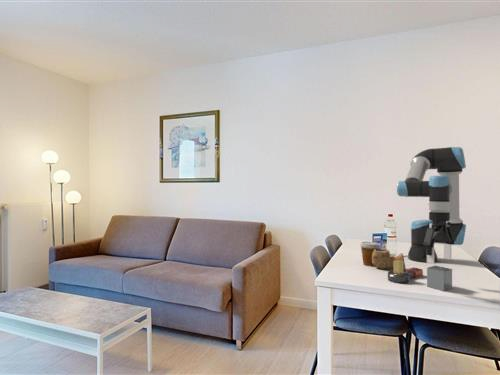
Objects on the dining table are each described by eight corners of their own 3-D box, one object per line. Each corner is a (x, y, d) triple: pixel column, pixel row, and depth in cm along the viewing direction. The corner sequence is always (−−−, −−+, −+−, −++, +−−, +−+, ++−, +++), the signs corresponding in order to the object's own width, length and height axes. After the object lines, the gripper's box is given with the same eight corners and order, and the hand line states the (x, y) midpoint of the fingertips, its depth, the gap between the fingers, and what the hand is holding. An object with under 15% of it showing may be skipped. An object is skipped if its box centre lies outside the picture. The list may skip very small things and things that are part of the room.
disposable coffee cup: (357, 264, 166) (357, 243, 166) (364, 261, 173) (364, 240, 173) (374, 268, 160) (374, 245, 160) (381, 264, 167) (381, 242, 167)
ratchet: (409, 272, 151) (409, 254, 151) (427, 277, 143) (427, 258, 143) (383, 279, 141) (383, 260, 141) (401, 284, 133) (401, 264, 133)
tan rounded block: (407, 272, 151) (407, 252, 151) (373, 270, 156) (373, 251, 156) (403, 267, 160) (403, 249, 160) (371, 265, 164) (371, 247, 164)
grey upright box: (435, 283, 134) (435, 265, 134) (452, 288, 128) (452, 269, 128) (427, 286, 130) (426, 267, 130) (443, 291, 125) (443, 271, 125)
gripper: (445, 209, 139) (445, 255, 138) (413, 212, 126) (413, 262, 126) (463, 210, 132) (463, 259, 132) (432, 213, 119) (432, 266, 119)
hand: (439, 261), depth 129 cm, fingers open, 13 cm apart
